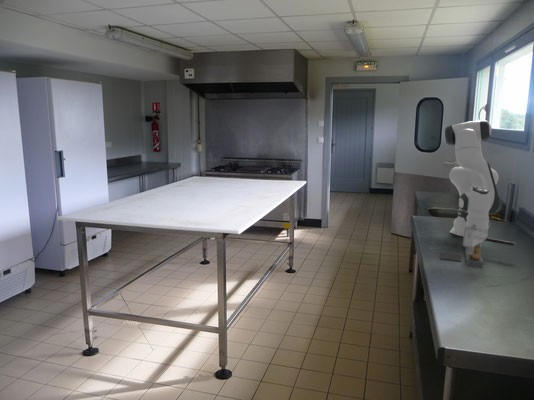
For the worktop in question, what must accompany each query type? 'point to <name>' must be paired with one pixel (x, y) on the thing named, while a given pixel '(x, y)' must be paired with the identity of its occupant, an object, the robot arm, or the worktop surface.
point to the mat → (450, 257)
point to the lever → (500, 241)
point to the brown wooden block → (477, 249)
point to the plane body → (473, 259)
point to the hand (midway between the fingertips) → (474, 252)
